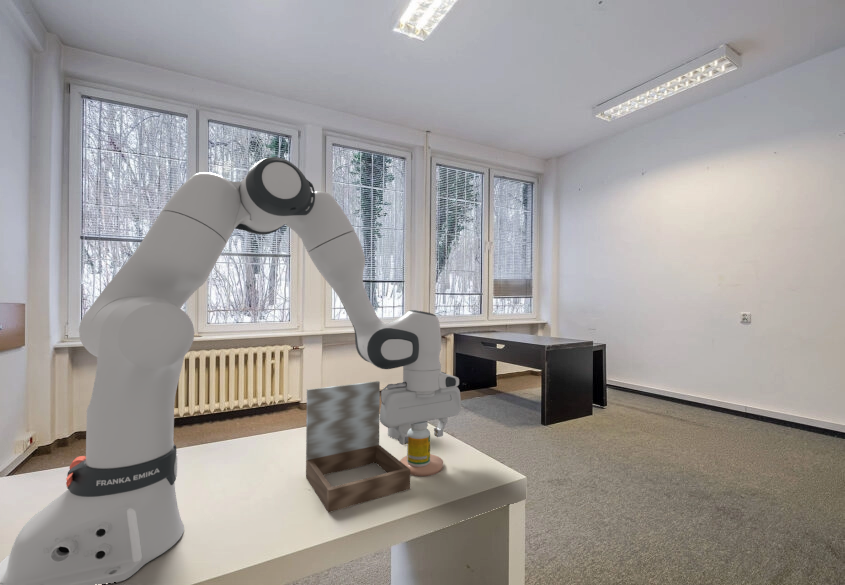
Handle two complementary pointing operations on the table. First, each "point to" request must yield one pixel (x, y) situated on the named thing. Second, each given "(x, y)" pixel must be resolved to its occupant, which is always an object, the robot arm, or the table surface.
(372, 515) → the table surface
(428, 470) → the pink flat disc
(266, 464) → the table surface
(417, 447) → the supplement bottle
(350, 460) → the hinged wooden box
